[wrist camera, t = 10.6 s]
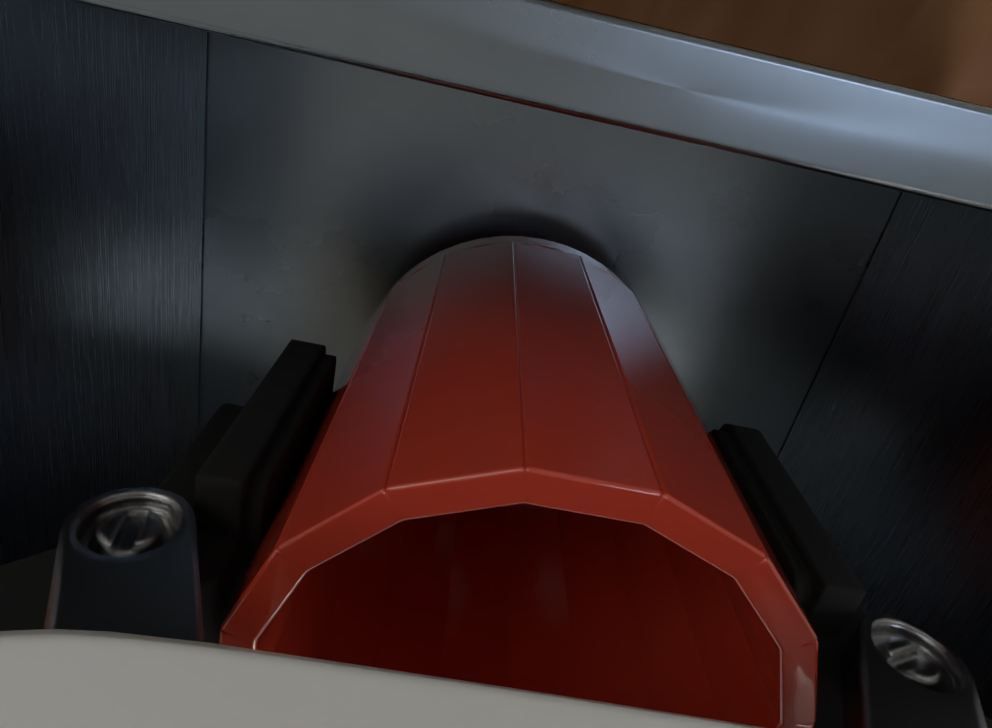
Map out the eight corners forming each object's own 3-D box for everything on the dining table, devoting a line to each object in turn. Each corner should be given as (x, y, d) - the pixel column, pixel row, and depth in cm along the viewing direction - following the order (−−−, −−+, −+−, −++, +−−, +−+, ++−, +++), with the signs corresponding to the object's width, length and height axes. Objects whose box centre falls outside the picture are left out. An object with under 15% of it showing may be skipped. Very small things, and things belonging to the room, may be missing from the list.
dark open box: (942, 125, 14) (1531, 237, 6) (717, 599, 20) (863, 982, 12) (189, -55, 13) (-346, -217, 5) (181, 507, 19) (-67, 865, 11)
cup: (701, 271, 13) (932, 543, 6) (611, 523, 16) (698, 914, 9) (381, 204, 13) (226, 412, 6) (344, 475, 16) (207, 849, 8)
